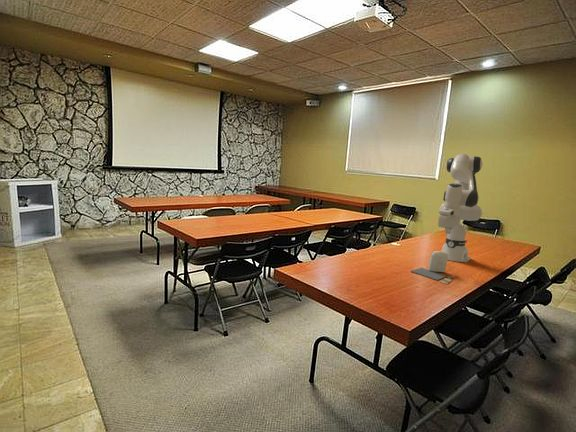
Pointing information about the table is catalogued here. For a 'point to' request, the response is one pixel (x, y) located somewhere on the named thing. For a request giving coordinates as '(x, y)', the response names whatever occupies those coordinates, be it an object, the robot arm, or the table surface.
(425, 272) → the mat
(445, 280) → the turner
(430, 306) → the table surface
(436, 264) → the photo printer
